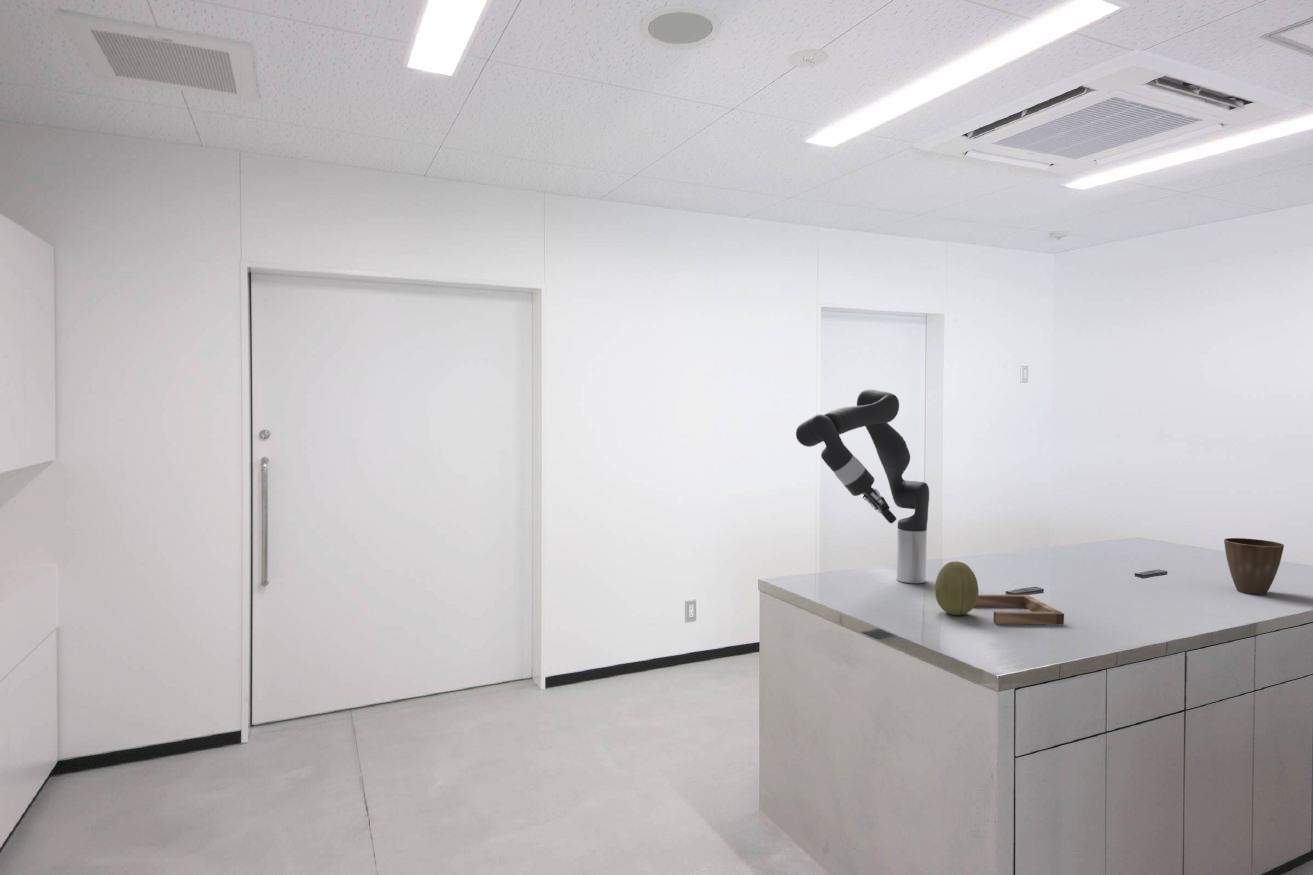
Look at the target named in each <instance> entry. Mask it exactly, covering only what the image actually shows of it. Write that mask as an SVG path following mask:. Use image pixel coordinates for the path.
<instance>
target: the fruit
mask: <svg viewBox="0 0 1313 875" xmlns="http://www.w3.org/2000/svg"><path fill="white" fill-rule="evenodd" d="M934 594H935V598H936V601H937V604H938V606H939V607H940V608H941V610H942V611H943V612H945V613H947V614H948V615H951V616H962V615H966V614H968V613H970V612H971V611H972V610H973V609H974V608H975V607H974V606H975V604H976V602H977V599H978V595H979V584H978V579H977V576H976V575H975V572H974V570H972V569H971V567H969V565H968V564H966V563H964V562H962V561H957V560H955V561H950V562H949V561H948V562H947V563H946V564H945V565H944V566H942V568H941V569H940V570H939V572H938V574H937V576H936V579H935V585H934Z"/></svg>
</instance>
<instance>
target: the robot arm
mask: <svg viewBox="0 0 1313 875" xmlns="http://www.w3.org/2000/svg"><path fill="white" fill-rule="evenodd" d="M899 410H900V400H899V398H898V396H896V395H895V394H894V393H891V392H888V391H881V390H877V389H864V390H863V391H861V392H859V394H858V396H857V400H856V405H855V406H854V405H852V406H845V407H844V406H843V407H840V408H837V409H834V410H831V411H829V412H827V413H825V414H821V413H820V414H816V415H814V416H812V417H810V418H808V419H806V420H805V421H803V422H802V423H800V424H799V425H798V426H797V428H796V431H795V436H796V439H797V442H798V443H800V445H802V446H804V447H809V448H811V447H815V446H816V445H817V446H818V445H819V444H821V443H824V444H825V448H824V449H822V451H821V456H820V457H821V459H822V460H823V461H824V463H825V464H826V465H827V467H828V468H829V469H830V470H831V471H832V472H833V473H834V475H835V476H836V478H837V479H838V481H840V483H842V485H843V486H844V487H845V489H846V490H847V491H848V492H849V493H850V494H851V496H853V497H857V496H860V495H862V496H861V498H862V499H863V500H864V501H866V502H867V503H868V505H869V506H870V507H871V508H873V510H875V511H876V512H878V513H879V514H881V515H882V516H883V517H884V519H885V520H886V521H887V522H888V523H889V524H893V523H895V522H896V520H897V517H896V516H895V514H894V513H893V512H892V511H891V510H890V509H891V508H890V506H889V504H888V503H887V502H888V501H887V500H886V499H885V497H883V496H882V495H881V494H880V492H879V491H878V489H876V488H874V487H872V486H873V485H874V483H875V477H874V476H873V475H872V474H871V473H870V471H869V470H868V469H867V468H866V467H865V466H864V465H863V463H862V462H861V461H860V460H859V459H858V458H857V457H855V455H854V454H853V453H852V451H850V450H849V449H848V447H847V446H846V445H845V444H844V442H843V440H842V438H841V436H840V435H842V434H845V433H848V432H850V431H852V430H856V429H859V428H863V427H865V429H866V431H867V432H868V435H869V436H870V438H871V441H872V444H873V445H874V447H875V450H876V453H877V456H878V458H879V461H880V462H881V465H882V468H883V471H884V473H885V475H886V478H887V481H888V484H889V489H890V492H891V496H892V499H893V502H894V504H895V505H896V506H897V507H898V508H900V509H910V510H914V513H913V515H911V516H908V517H904V518H901V519H899V520H898V521H897V543H896V545H897V546H896V547H897V548H896V550H897V552H896V580H897V581H898V582H900V583H901V582H902V583H906V584H922V583H926V581H927V580H926V578H927V576H926V575H927V541H928V540H927V537H928V533H927V532H928V520H929V503H930V488H929V485H928V484H927V482H924V481H916V480H915V481H914V480H906V479H904V478H903V475H904V472H905V471H906V470H907V469H908V466H909V465H910V461H911V454H910V450H909V448H908V445H907V442H906V441H905V439H904V437H903V436H902V435H901V434H900V433H899V432H898V431H897V430H896V429H895V428H894V427H892V425H890V424H889V423H890V422H892V421H894V419H896V417H897V416H898V414H899Z"/></svg>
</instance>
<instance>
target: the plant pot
mask: <svg viewBox="0 0 1313 875" xmlns="http://www.w3.org/2000/svg"><path fill="white" fill-rule="evenodd" d="M1223 544H1224V550H1225V556H1226V561H1227V567H1228V570H1229V574H1230V577H1231V579H1232V582H1233V583H1234V584H1233V585H1234V588H1235V589H1236V591H1237V592H1239V593H1243V594H1247V595H1257V596H1258V595H1259V596H1264V595H1265V596H1266V595H1267V594H1268V592H1269V590H1270V588H1271V586H1272V584H1273V582H1274V580H1275V578H1276V575H1277V573H1278V570H1279V567H1280V564H1281V560H1282V556H1283V552H1284V548H1285V544H1283V543H1282V542H1278V541H1277V542H1276V541H1271V540H1265V539H1255V538H1245V537H1242V538H1241V537H1230V538H1229V537H1228V538H1223Z"/></svg>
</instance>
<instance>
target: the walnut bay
mask: <svg viewBox="0 0 1313 875" xmlns="http://www.w3.org/2000/svg"><path fill="white" fill-rule="evenodd" d="M976 607H982V608H983V607H989V608H991V607H993V608H994V607H999V608H1001V607H1007V608H1010V607H1013V608H1015V607H1018V608H1019V607H1021V608H1022V607H1023V608H1025V609H1027V610H1028V611H1013V610H1012V611H1009V610H1007V611H1004V610H1003V611H999V610H998V611H993V623H994V624H995V625H999V626H1000V625H1003V626H1004V625H1005V626H1006V625H1009V626H1010V625H1015V626H1016V625H1020V626H1022V625H1023V624H1025V625H1027V626H1029V625H1028V624H1031V625H1030V626H1035V625H1034V624H1057V626H1059V625H1058V624H1064V623H1065V613H1063V612H1061V611H1060V610H1058V609H1057V608H1054V607H1052V606H1050V605H1048V604H1046V603H1044V602H1041V601H1040V600H1039V599H1036V598H1035V597H1032V596H1031V595H1029V594H978V599H977V602H976V604H975V606H974V607H973V608H976ZM1025 625H1023V626H1025Z"/></svg>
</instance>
